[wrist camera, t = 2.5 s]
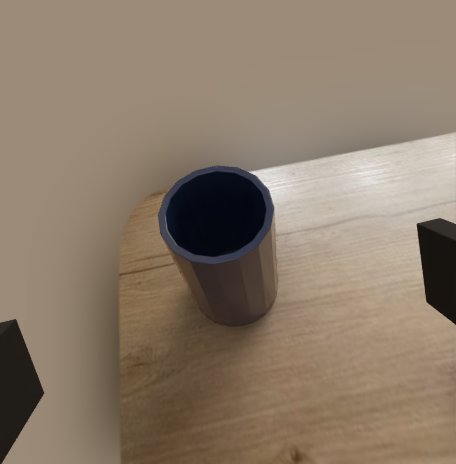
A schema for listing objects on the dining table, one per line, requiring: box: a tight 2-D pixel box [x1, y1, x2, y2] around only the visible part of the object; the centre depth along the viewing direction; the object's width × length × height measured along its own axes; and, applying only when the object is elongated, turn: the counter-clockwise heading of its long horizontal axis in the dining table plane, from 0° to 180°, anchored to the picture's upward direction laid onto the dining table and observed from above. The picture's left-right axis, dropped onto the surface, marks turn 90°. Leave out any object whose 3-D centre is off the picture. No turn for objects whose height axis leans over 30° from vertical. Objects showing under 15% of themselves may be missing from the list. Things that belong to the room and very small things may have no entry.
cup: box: [158, 166, 278, 326], centre depth 32 cm, size 7×7×12 cm
